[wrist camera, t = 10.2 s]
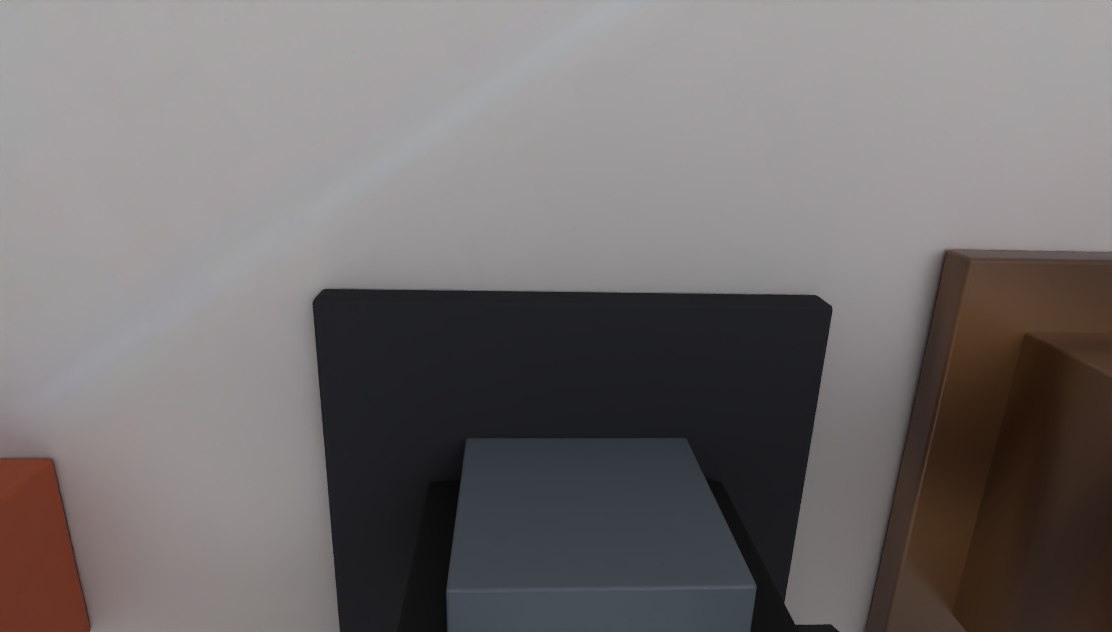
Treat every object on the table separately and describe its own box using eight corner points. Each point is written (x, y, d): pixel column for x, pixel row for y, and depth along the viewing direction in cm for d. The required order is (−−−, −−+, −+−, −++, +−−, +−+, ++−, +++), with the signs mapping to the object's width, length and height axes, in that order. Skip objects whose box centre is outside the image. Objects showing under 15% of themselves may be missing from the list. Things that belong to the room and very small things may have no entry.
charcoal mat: (321, 287, 14) (310, 299, 13) (818, 294, 15) (835, 306, 14) (352, 684, 17) (345, 713, 16) (758, 675, 18) (769, 702, 17)
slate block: (465, 436, 14) (445, 590, 10) (686, 436, 15) (758, 585, 10) (468, 618, 16) (451, 820, 11) (669, 615, 16) (726, 811, 12)
